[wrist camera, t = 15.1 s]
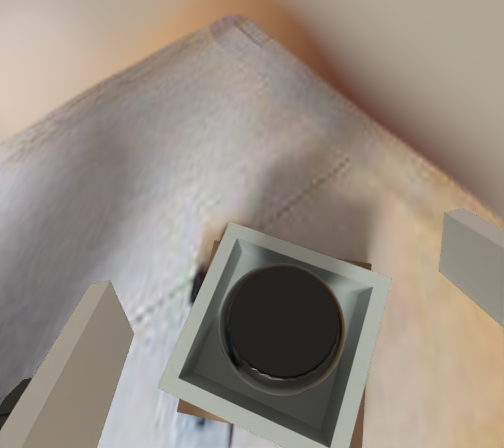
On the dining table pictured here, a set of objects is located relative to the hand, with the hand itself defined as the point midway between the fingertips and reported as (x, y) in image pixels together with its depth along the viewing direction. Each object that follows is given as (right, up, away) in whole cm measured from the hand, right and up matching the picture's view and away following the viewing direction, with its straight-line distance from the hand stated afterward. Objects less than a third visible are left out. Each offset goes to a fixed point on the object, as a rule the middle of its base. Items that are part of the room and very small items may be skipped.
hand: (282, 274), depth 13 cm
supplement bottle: (+1, -6, +12) cm, 14 cm away
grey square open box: (+1, -7, +13) cm, 15 cm away
